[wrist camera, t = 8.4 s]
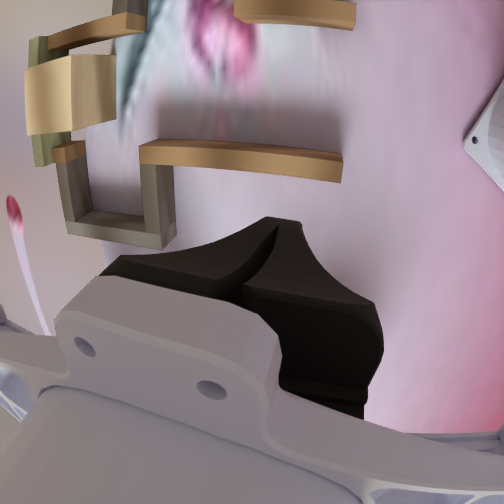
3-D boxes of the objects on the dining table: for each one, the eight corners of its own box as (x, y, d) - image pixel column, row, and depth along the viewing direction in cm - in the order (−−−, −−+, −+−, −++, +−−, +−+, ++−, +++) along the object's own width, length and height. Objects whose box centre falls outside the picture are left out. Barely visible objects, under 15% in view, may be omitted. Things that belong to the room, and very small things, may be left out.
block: (117, 55, 18) (71, 54, 14) (117, 118, 21) (72, 131, 17) (69, 65, 19) (24, 69, 15) (71, 122, 22) (27, 135, 17)
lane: (353, -64, 11) (355, -88, 8) (325, 257, 22) (324, 285, 19) (65, -22, 15) (37, -27, 12) (73, 219, 26) (48, 236, 23)
